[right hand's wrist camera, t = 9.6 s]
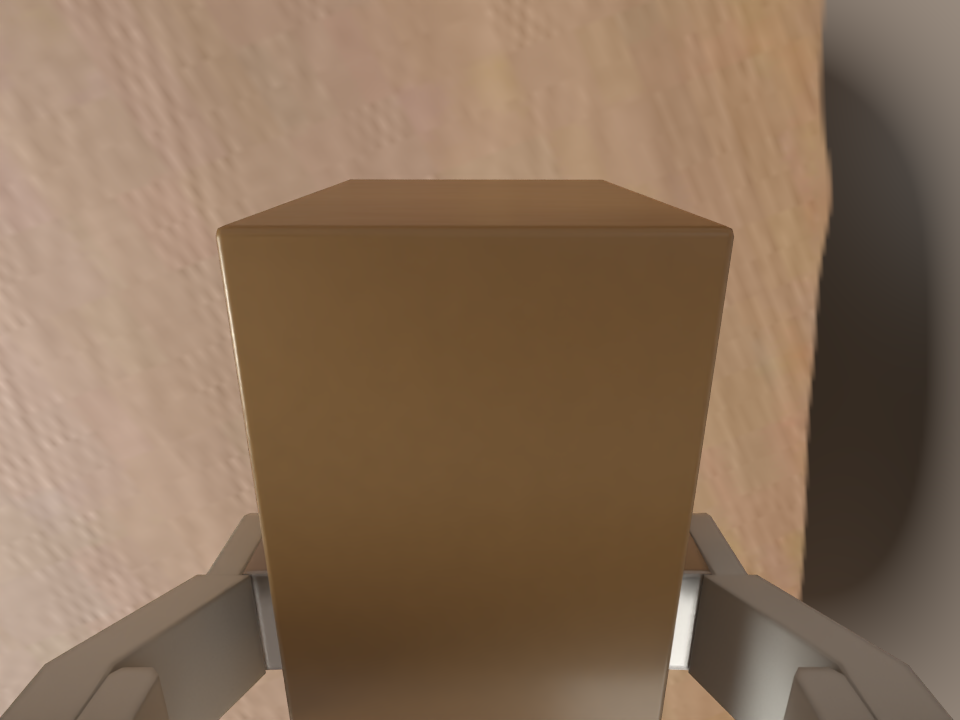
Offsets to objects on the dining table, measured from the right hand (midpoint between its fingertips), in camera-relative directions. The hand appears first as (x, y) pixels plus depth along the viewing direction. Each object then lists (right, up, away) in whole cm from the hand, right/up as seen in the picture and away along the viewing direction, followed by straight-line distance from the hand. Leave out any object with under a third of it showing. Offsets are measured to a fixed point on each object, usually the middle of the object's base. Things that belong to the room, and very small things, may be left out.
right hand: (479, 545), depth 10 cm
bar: (0, -26, +13) cm, 29 cm away
